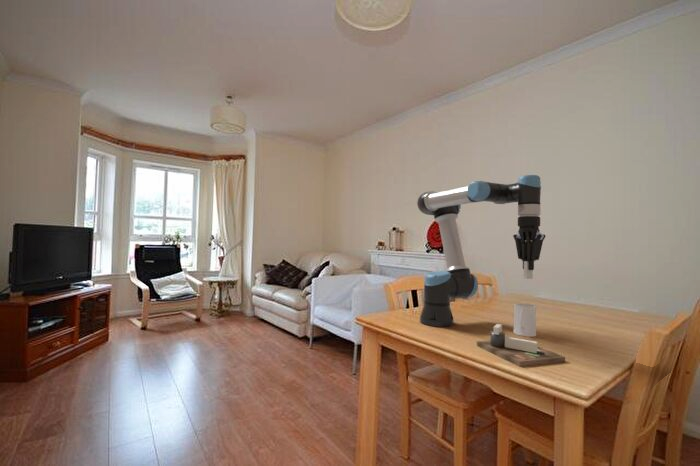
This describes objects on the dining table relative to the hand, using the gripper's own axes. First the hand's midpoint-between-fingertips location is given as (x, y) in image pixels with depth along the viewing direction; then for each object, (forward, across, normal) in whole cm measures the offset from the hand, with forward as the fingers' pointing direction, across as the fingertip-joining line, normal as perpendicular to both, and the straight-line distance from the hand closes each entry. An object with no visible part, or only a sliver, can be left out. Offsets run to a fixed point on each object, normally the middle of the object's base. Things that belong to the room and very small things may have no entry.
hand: (528, 278), depth 122 cm
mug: (+25, -10, +8) cm, 28 cm away
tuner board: (+24, +8, -12) cm, 28 cm away
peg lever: (+23, +9, -13) cm, 28 cm away
